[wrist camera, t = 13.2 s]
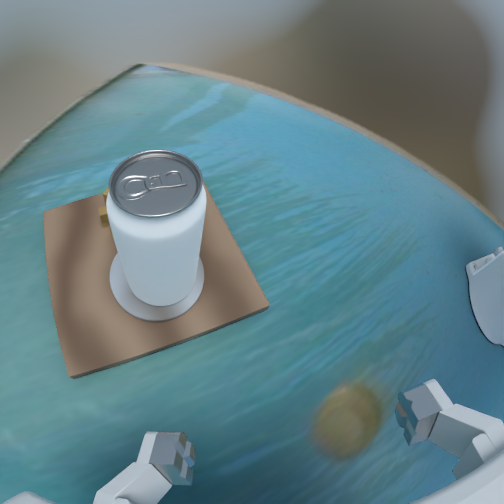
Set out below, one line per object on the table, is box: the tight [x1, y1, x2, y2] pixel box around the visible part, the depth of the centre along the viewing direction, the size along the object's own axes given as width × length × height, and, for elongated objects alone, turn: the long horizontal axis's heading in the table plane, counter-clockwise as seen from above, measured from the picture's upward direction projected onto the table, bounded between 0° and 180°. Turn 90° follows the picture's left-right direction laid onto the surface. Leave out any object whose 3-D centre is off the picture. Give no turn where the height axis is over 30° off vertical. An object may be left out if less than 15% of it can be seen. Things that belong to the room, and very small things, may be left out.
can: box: [106, 150, 206, 306], centre depth 20 cm, size 6×6×12 cm
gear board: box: [44, 181, 270, 379], centre depth 25 cm, size 20×19×6 cm
